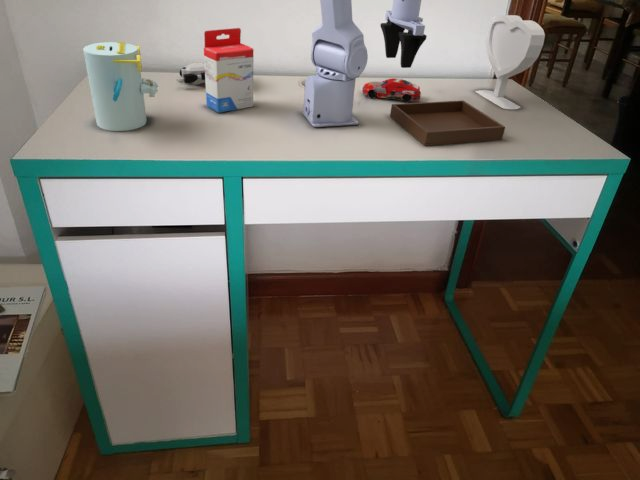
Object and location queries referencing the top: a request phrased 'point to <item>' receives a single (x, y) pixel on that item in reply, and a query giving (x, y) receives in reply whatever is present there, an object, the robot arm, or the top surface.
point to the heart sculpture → (510, 52)
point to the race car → (393, 90)
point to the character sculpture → (117, 85)
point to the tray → (446, 122)
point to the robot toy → (192, 73)
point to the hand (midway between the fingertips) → (398, 62)
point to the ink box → (228, 71)
